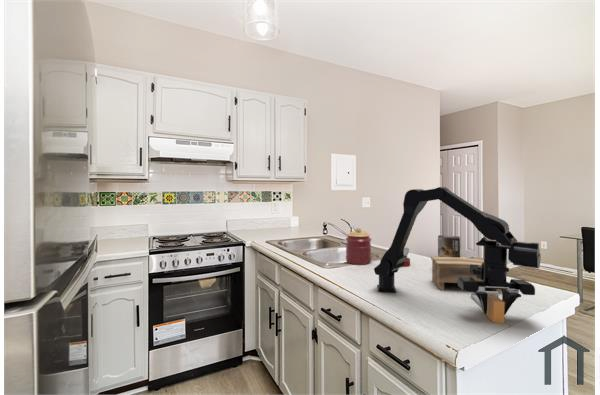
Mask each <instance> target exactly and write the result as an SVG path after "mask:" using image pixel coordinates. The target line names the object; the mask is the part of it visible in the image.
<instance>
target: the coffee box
mask: <svg viewBox="0 0 600 395" xmlns="http://www.w3.org/2000/svg"><path fill="white" fill-rule="evenodd" d="M437 257H456V258H461V237H460V236H458V235H457V236H455V235H440V234H438V236H437Z"/></svg>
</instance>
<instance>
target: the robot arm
mask: <svg viewBox="0 0 600 395" xmlns="http://www.w3.org/2000/svg"><path fill="white" fill-rule="evenodd" d="M437 200H438V201H441V202H442V203H443V204H445V205H447V206H448V207H449V208H451V209H452V210H453V211H455V212H456V213H458V214H460V215H461V216H463V217H464V218H465V219H467V220H468V221H469V222H471V224H473V225H474V227H475V228H476V230H477V231H479V233H480V234H481V235H483V237H481V239H480V240H478V241H477V242H476V243H475V245H476V246H479V247H483V258H484V263H482V267H478V265H472V264H471V265H470V274H471V275H476V276H477V278H479V279H481V280H483V281H476V280H474V279H473V278H472V277H459V279H458V283H457V286H458V287H459V288H460V289H461V291H463V292H466V293H467V292H468V293H471V292H474V293H475V294H476V295H477V297H478V299H479V301H480V304H481V306H480V307H481V310H482V312H483V313H484V315H486V313H487V299H488V294H487V293H486V292H485V291H486V289H491V288H492V289H501V295H502V296H501V300H502V301H504V302H505V305H504V316H506V314H507V313H508V311H509V309H510V308H511V307H512V306H513V304H514V303H515V301H516V300H517V299H518V298H521V297H522V295H524V296H525V295H527V296H528V295H529V296H535V295H536V286H534V285H533V284H532V283H530V282H529V281H527V280H526V279H517V278H511V279H510V281H509V282H508V281H507V279H508V278H507V274H508V273H509V272H510V268H509V267H507V266H508V265H507V264H508V261H510V263H512V265H513V266H519V267H526V268H533V269H538V270H539V269H540V267H541V257H542V254H541V253H540V252H541V250H540V243H539V242H525V241H524V242H523V241H518V239H517V238H516V237H515V236H514V234H512V232H511V231H510V225H509V224H508V222H506V220H504V219H502V218H499V217H498V216H495V215H492V214H489V213H487V212H484V211H482V210H480V209H479V208H477V207H476V206H474V205H472V204H471V203H469V202H468V201H467V200H465V199H464V198H461V197H460V196H459V195H457V194H456V193H454V192H452V191H451V190H450V189H449V188H448V187H446V186H438V187H436V188H431V189H423V188H420V189H419V188H417V189H409V190H407V191H406V192H405V194H404V198H403V202H402V203H403V213H402V216H401V218H400V221H399V223H398V226H397V229H396V232H395V235H394V237H393V239H392V243H391V245H390V247H389V248H388V249H387V250H386V251H385V252H384V254H383V256H382V257H381V259H380V262H379V264H378V265H377V266H375V267H374V268H373V272H374V274H375V275H377V276H378V284H376V287H377V291H378V292H381V293H397V289H396V286H395V273H398V271H399V270H400V269H401V268H403V267H402V266H404V262H405V260H406V258H408V255H407V256H405V255H404V248H406V244H407V243H408V240H409V237H410V235H411V232H412V230H413V227H414V224H415V221H416V219H417V217H418V215H419V214H420V213H421V212H422V210H424V208H425V206H426V205H427V203H428V202H431V201H437ZM492 289H491V290H492ZM520 293H521V294H522V295H521V294H520Z"/></svg>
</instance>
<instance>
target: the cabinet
mask: <svg viewBox="0 0 600 395" xmlns="http://www.w3.org/2000/svg"><path fill="white" fill-rule="evenodd" d="M430 259H431V262H432V266H431V267H432V269H431V271H432V272H431V281H432V283H433V284H434V285H435V286H436V288H437V289H438V290H439V291H445V283H448V284H450V283H451V284H452V283H453V284H458V279H459V277H472V278H473V279H474V280H476V281H483V280H481V279H479V278H477V276H476V275H471V274H470V265H471V264H472V265H478V267H482V263H484V257H483V258H479V257H460V258H456V257H438V256H431V257H430ZM490 289H491V290H492V291H493V292H499V294H502V291H501V289H492V288H490Z"/></svg>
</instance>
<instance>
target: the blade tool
mask: <svg viewBox="0 0 600 395" xmlns="http://www.w3.org/2000/svg"><path fill="white" fill-rule="evenodd" d="M485 292H486V293H487V294H488V299H487V313H486V314H485V316H487V317H488V319H490V320H491V321H492V322H493V323H500V324H501V323H502V324H504V323H505V315H504V305H505V302H504V301H502V298H500V297H499V295H500V293H499V292H495V291H493V290H492V291H491V290H490V291H487V290H485ZM470 298H472V300H474V301H475V302H476V303H477V305H479V306H480V307H481V304H480V301H479V299H478V297H477V295H476V294H475V293H474V292H470Z"/></svg>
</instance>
